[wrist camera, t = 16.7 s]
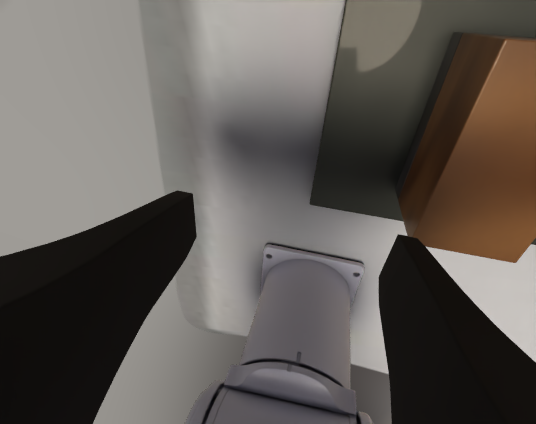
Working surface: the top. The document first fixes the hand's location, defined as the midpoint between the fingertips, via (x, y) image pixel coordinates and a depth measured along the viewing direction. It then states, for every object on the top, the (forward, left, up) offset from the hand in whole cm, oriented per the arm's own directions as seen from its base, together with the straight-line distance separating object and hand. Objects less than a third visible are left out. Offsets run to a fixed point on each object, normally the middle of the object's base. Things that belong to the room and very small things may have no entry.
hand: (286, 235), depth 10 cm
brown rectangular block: (+2, -7, -8) cm, 11 cm away
